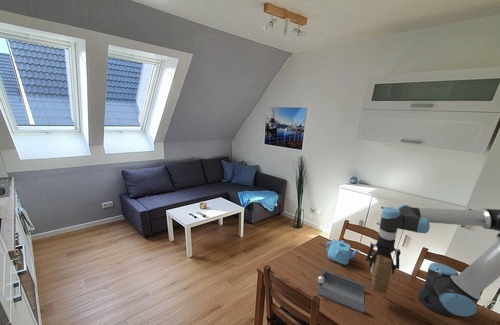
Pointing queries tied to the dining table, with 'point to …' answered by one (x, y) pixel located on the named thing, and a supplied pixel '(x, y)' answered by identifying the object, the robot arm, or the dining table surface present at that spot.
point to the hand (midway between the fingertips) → (380, 275)
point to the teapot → (340, 252)
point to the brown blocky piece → (381, 273)
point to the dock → (342, 290)
